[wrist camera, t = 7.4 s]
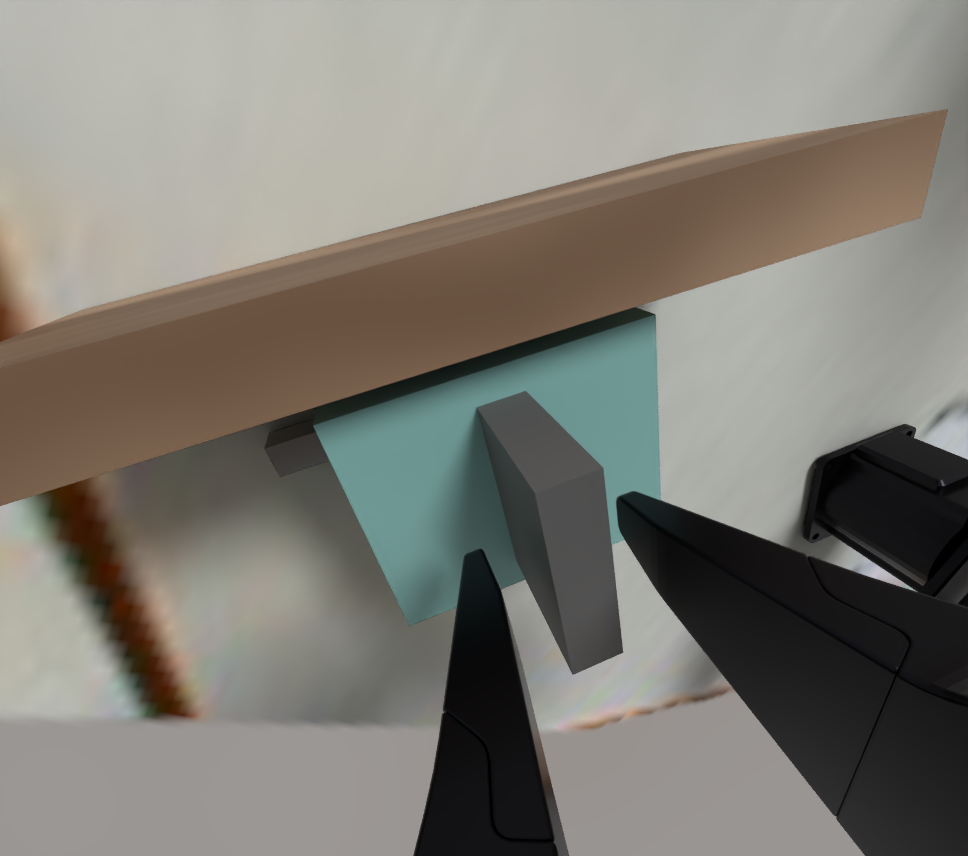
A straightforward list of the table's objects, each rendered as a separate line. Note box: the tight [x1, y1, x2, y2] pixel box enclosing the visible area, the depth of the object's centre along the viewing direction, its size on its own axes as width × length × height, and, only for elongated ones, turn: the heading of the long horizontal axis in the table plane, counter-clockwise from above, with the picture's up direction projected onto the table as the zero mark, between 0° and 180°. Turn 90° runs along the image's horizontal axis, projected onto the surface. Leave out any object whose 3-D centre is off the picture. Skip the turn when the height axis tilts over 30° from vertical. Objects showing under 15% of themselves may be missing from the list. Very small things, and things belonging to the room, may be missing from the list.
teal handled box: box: [313, 307, 661, 674], centre depth 13 cm, size 7×8×10 cm
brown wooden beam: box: [0, 109, 948, 506], centre depth 12 cm, size 7×20×8 cm, turn 103°
